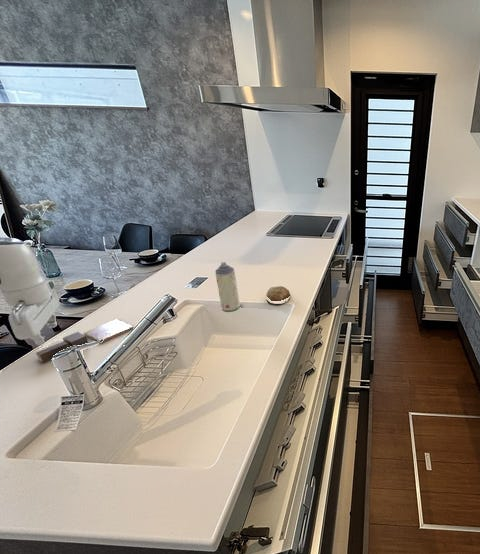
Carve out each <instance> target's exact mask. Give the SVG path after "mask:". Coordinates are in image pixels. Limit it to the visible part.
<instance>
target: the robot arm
mask: <svg viewBox="0 0 480 554" xmlns="http://www.w3.org/2000/svg"><path fill="white" fill-rule="evenodd" d="M55 287H56V283H55V281H54V280H52V279H51V280H50V279H49V280H46V278H45V277H44V276H43V275H42V274H41V271H40V264H39V262H38V260H37V258H36V256H35V255H34V253H33V251H32V249H31V247H29V245H28V244H27V243H25V242H24V241H23V240H20V239H18V238H14V237H0V294H1V296H2V298H3V299H4V301H5V303H6V305H7V306H8V307H12V308H11V312H10V313H9V314H8V322H9V325H10V327H11V330H12V333H13V334H14V336H15V338H16V339H18V340H21V341H22V340H28V339H30V340H31V341H33V342H34V344H35V346H41V345H44V344H45V342H47V339H46V337H45V336H44V335H43V336H42V335H41V334H42V332H41V331H42V329H43V328H44V327H45V325H46V326H47V328H48V329H54V328H56V327H57V326H58V322H57V317H56V316H57V315H56V311H57V310H58V308H59V307H60V298H59V295H58V293H57V290H56V288H55Z"/></svg>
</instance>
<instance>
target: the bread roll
mask: <svg viewBox="0 0 480 554" xmlns="http://www.w3.org/2000/svg"><path fill="white" fill-rule="evenodd" d="M266 296H267V297H268V298H269V299H270V300H271V301H281V300H284V299H286V298H288V297H289V296H290V297H291V293H290V290H289V289H288V288H286V287H284V286H281V285H280V286H278V285H277V286H272V287H270V288H269V289H268V290H267V292H266V295H265V297H266Z"/></svg>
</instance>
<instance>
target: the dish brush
mask: <svg viewBox="0 0 480 554" xmlns="http://www.w3.org/2000/svg"><path fill="white" fill-rule="evenodd" d="M62 340H63V341H60V342H58V343H56V344H54V345H51V346H48V347H46V348H43V349H42V350H39V351H37V352H35V355H36V356H37V359H38V360H39V361H40V362H41V363H43V364H45V363H47V362H50V361H52V360H53V359H52V357H53V355H55V354H56V353H58V352H59V351H61V350H63V349H66V348H67V347H70V346H73V345H82V344H85V343H89V341H88V337H87V336H85V335H84V333H81V332H79V331H76V332H74V333H71V334H69V335H67V336H64V337H62Z"/></svg>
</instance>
